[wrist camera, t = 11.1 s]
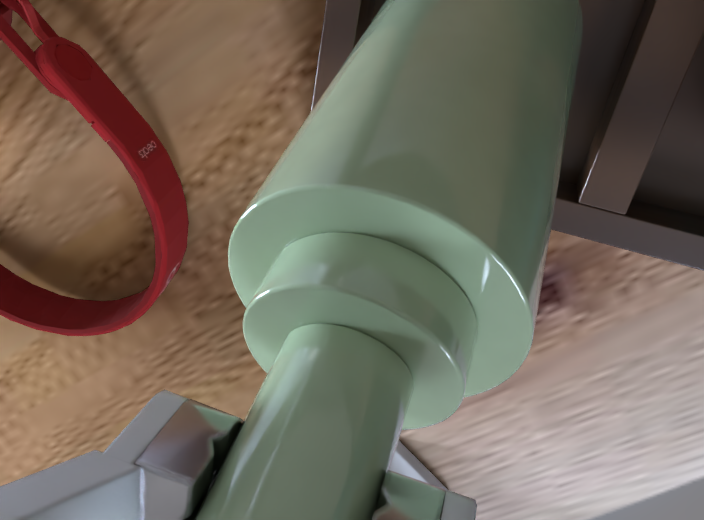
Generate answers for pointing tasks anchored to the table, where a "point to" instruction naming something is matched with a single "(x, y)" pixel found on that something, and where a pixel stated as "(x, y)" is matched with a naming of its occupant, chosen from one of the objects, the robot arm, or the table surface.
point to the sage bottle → (397, 248)
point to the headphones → (137, 156)
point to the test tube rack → (412, 466)
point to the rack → (611, 122)
